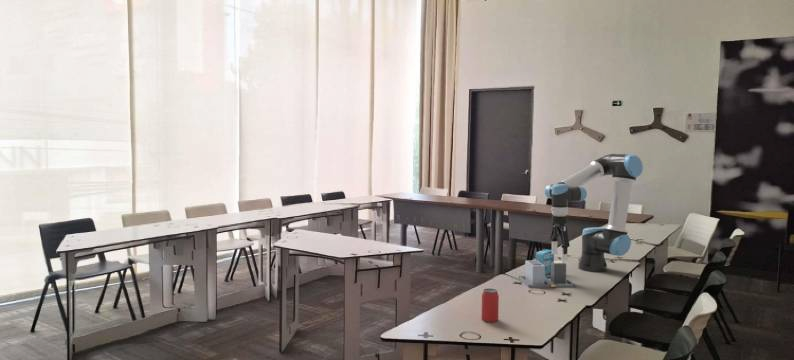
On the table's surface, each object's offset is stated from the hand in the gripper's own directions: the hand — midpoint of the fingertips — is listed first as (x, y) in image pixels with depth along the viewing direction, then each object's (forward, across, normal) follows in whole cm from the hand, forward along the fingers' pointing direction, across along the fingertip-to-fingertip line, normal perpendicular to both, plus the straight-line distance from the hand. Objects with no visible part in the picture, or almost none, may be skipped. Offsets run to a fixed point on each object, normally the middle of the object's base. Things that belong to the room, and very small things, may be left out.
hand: (559, 257), depth 264 cm
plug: (+13, 0, -1) cm, 13 cm away
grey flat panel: (+13, 0, -7) cm, 15 cm away
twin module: (+13, 0, -13) cm, 18 cm away
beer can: (+12, +52, -48) cm, 72 cm away
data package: (+14, -20, -1) cm, 24 cm away
